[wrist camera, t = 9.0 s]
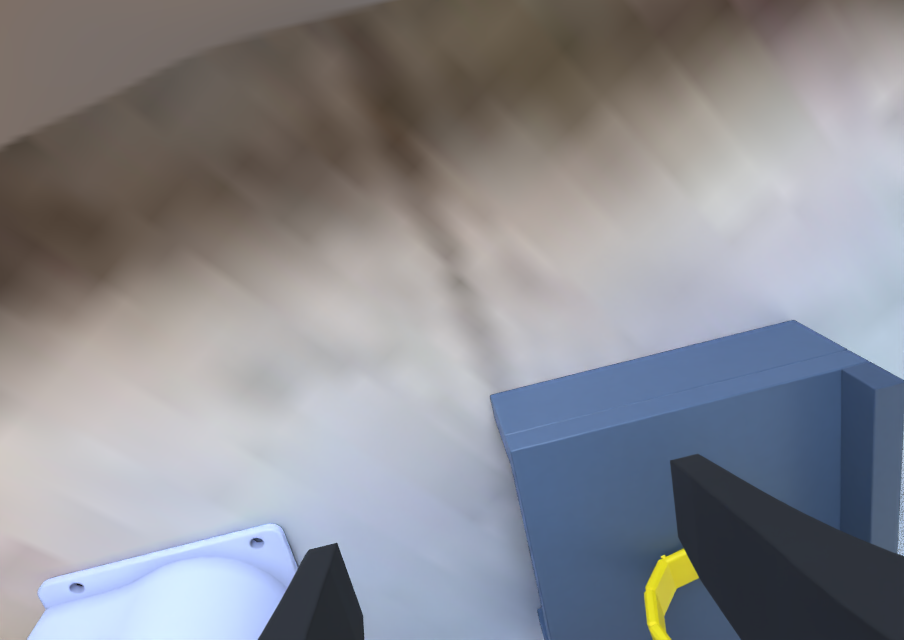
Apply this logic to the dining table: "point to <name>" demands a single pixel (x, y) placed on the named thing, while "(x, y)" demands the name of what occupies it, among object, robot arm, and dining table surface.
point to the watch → (665, 589)
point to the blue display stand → (683, 434)
